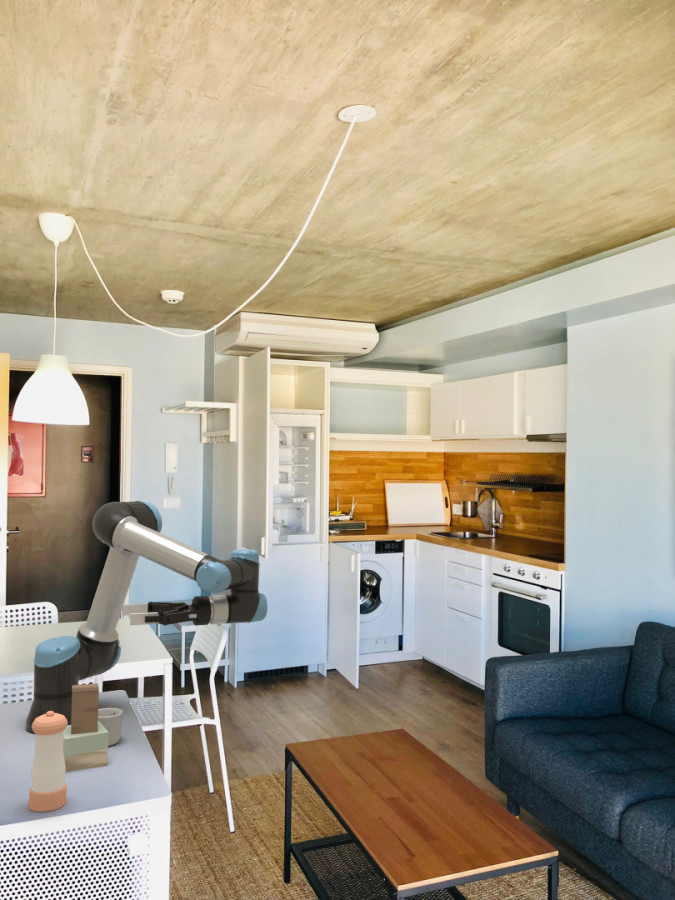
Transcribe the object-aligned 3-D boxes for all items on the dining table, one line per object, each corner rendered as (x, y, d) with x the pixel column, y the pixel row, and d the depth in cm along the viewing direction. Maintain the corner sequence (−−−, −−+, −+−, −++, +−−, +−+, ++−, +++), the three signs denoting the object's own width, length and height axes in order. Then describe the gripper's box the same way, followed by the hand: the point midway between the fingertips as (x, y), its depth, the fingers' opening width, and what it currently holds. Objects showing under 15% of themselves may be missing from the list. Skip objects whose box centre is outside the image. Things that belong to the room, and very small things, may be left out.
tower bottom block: (58, 759, 181) (59, 742, 181) (101, 753, 185) (101, 737, 185) (62, 773, 172) (62, 756, 172) (106, 767, 176) (107, 750, 176)
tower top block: (56, 743, 180) (56, 727, 180) (97, 736, 185) (98, 720, 186) (64, 756, 172) (65, 739, 172) (108, 749, 177) (108, 732, 177)
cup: (74, 745, 190) (75, 713, 190) (94, 735, 197) (95, 704, 197) (109, 750, 186) (109, 718, 186) (128, 740, 193) (129, 709, 194)
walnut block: (71, 726, 181) (72, 685, 181) (96, 724, 183) (97, 683, 183) (71, 734, 175) (72, 691, 176) (97, 731, 177) (98, 689, 178)
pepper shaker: (35, 797, 158) (38, 706, 159) (70, 796, 158) (72, 706, 159) (23, 812, 150) (26, 717, 151) (60, 811, 151) (62, 716, 152)
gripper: (221, 633, 183) (133, 639, 174) (196, 616, 205) (118, 620, 197) (222, 603, 183) (134, 607, 174) (197, 589, 206) (119, 592, 197)
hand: (125, 614), depth 185 cm, fingers open, 13 cm apart
